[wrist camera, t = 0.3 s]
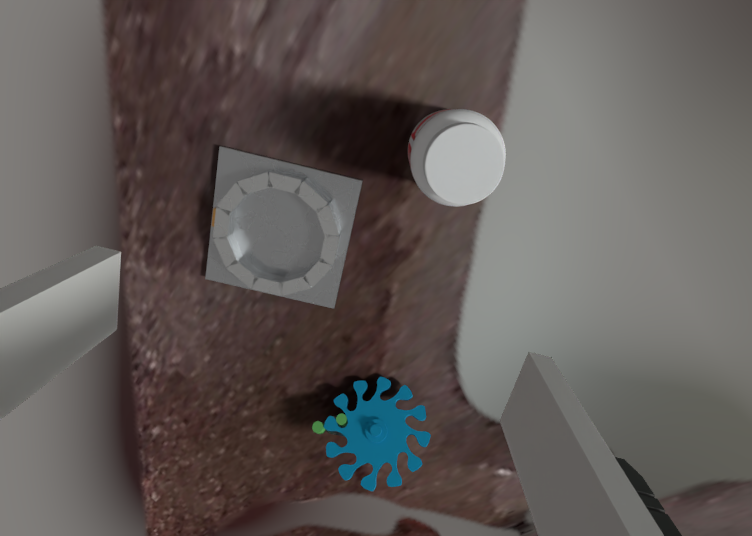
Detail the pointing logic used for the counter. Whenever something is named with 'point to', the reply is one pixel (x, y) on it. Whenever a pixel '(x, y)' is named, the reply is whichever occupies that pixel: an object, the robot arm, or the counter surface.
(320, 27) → the counter surface
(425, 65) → the counter surface
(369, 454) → the blue knobbed piece
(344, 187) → the duct flange
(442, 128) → the pill bottle
